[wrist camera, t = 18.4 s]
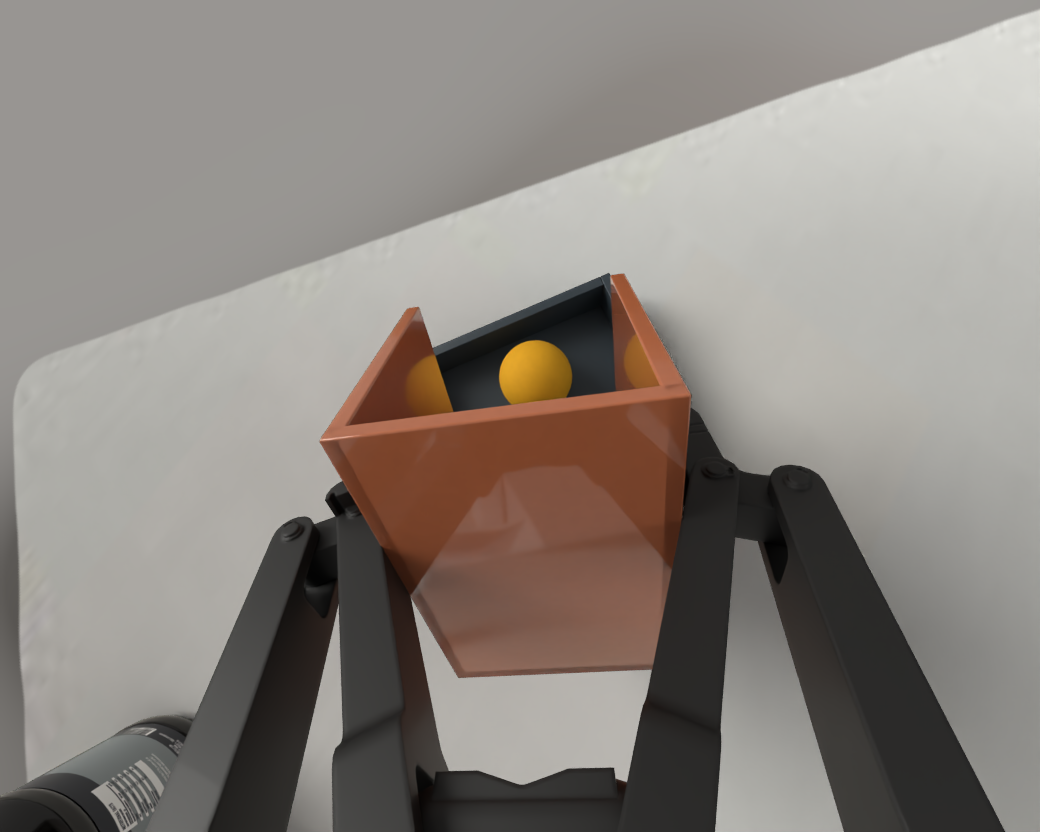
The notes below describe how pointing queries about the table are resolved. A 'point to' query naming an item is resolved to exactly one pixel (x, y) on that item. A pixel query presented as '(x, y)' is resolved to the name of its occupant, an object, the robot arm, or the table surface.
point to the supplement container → (101, 783)
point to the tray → (558, 320)
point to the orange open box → (525, 503)
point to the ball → (535, 373)
